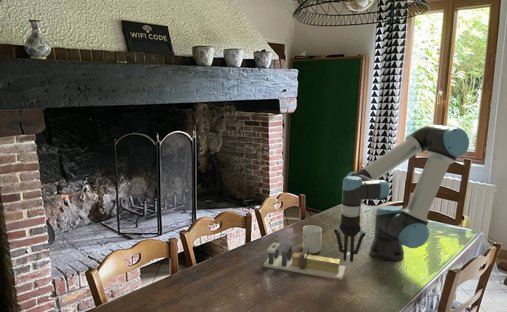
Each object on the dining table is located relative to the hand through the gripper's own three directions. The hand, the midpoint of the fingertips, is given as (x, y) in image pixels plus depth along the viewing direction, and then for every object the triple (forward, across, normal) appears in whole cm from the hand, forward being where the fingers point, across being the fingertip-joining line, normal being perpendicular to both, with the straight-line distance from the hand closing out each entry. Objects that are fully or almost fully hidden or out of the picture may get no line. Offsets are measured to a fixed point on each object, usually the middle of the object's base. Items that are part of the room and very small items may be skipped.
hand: (347, 268), depth 163 cm
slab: (+3, +19, 0) cm, 19 cm away
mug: (+3, +20, -20) cm, 29 cm away
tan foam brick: (+2, +14, 0) cm, 14 cm away
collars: (+2, +26, 0) cm, 26 cm away
